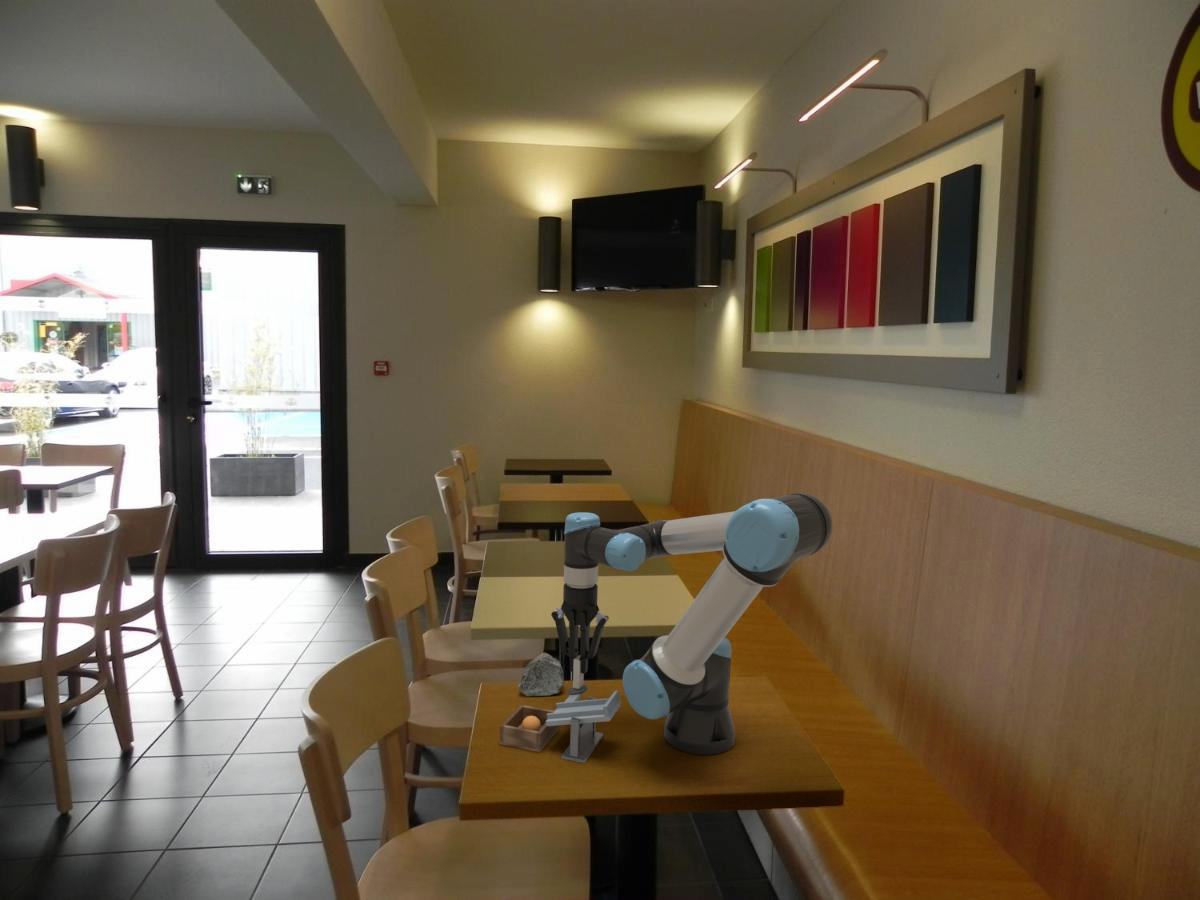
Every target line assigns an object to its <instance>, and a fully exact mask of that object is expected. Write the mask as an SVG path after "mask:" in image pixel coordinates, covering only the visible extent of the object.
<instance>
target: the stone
mask: <svg viewBox="0 0 1200 900" xmlns="http://www.w3.org/2000/svg"><path fill="white" fill-rule="evenodd" d="M520 679H521V680H520V683H519V684H518V686H517V687H518V689H519V690H520V692H521V693H522V694H523V695H524V696H526V697H533V696H535V697H537V696H539V697H540V696H541V697H543V696H552V695H554V694H555V695H557V694H559V693H560V692H561V689H562V687H563V685H564V684H565V682H564V681H565V680H564V670H563V666H562V665H561V662H560V660H558V659H557V658H556V657H553V656H552V655H550V654H549V653H547V652H542V653H541V654H539V655H538V656H536V657H535V658H534V659H532V660H531V661H530V662H529V663H527V665H526V666H525V669H524V670H523V673H522V675H521V678H520Z"/></svg>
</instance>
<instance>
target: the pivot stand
mask: <svg viewBox="0 0 1200 900" xmlns="http://www.w3.org/2000/svg"><path fill="white" fill-rule="evenodd" d="M593 699H597V697H596V696H591V695H588V697H587V700H593ZM596 723H597V722H592V723H580V719H579V718H574V717H572V718H571V724H570V736H569V737H570V742H569V745H568V747H566V749H565V750H564V752H563V753H562V754H561V757H560V758H561V760H566V761H570V762H571V761H572V762H575V763H576V762H577V763H579V764H581V763H582V764H586V762H587V761H588V759H589V758H590V756H591V755H592V753H593V752H594V750H595V749H596V747H597V746H598V744H599V743H600V741H601V740H602V738H603V737H604V732H599V731H596Z"/></svg>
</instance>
